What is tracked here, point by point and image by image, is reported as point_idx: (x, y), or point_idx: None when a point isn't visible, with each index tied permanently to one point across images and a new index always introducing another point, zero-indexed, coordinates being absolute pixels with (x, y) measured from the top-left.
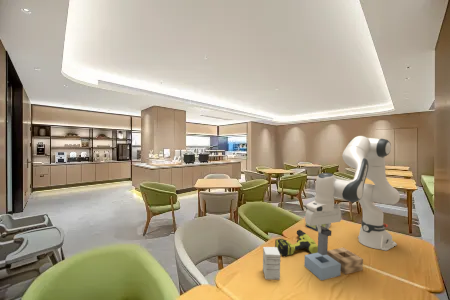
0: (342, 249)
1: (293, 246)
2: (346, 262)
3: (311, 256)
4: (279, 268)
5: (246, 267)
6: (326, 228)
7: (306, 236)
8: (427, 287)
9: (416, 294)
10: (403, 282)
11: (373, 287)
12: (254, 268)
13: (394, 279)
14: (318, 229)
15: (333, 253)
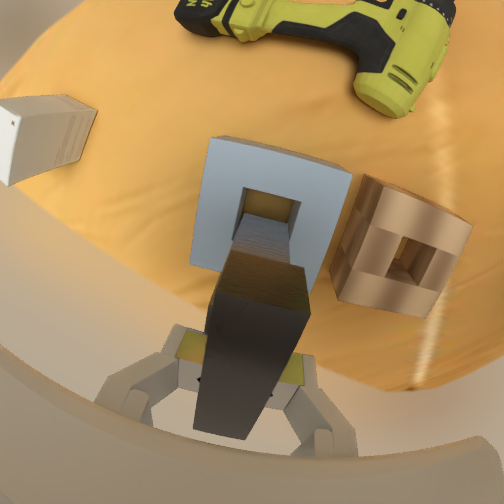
0: (452, 233)
1: (262, 21)
2: (345, 300)
3: (236, 168)
4: (48, 169)
5: (41, 68)
6: (256, 411)
7: (423, 22)
8: (421, 383)
9: (378, 386)
10: (412, 362)
11: (330, 342)
12: (53, 78)
13: (414, 350)
14: (165, 349)
15: (383, 224)
